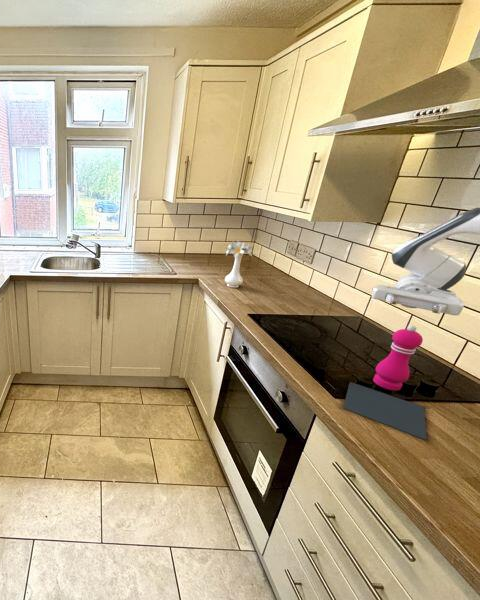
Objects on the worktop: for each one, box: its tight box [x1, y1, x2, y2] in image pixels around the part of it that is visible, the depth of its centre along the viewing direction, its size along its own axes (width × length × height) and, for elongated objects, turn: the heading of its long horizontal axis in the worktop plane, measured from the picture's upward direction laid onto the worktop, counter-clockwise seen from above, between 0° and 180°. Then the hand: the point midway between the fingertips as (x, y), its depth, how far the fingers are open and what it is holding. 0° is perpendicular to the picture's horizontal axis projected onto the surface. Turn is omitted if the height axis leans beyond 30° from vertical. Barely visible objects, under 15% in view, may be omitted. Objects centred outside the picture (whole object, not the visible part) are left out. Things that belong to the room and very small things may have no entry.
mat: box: [342, 381, 428, 441], centre depth 86 cm, size 16×16×1 cm
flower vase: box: [224, 240, 253, 289], centre depth 173 cm, size 13×18×25 cm
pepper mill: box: [372, 324, 424, 392], centre depth 92 cm, size 7×7×20 cm
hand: (414, 306), depth 96 cm, fingers open, 8 cm apart
